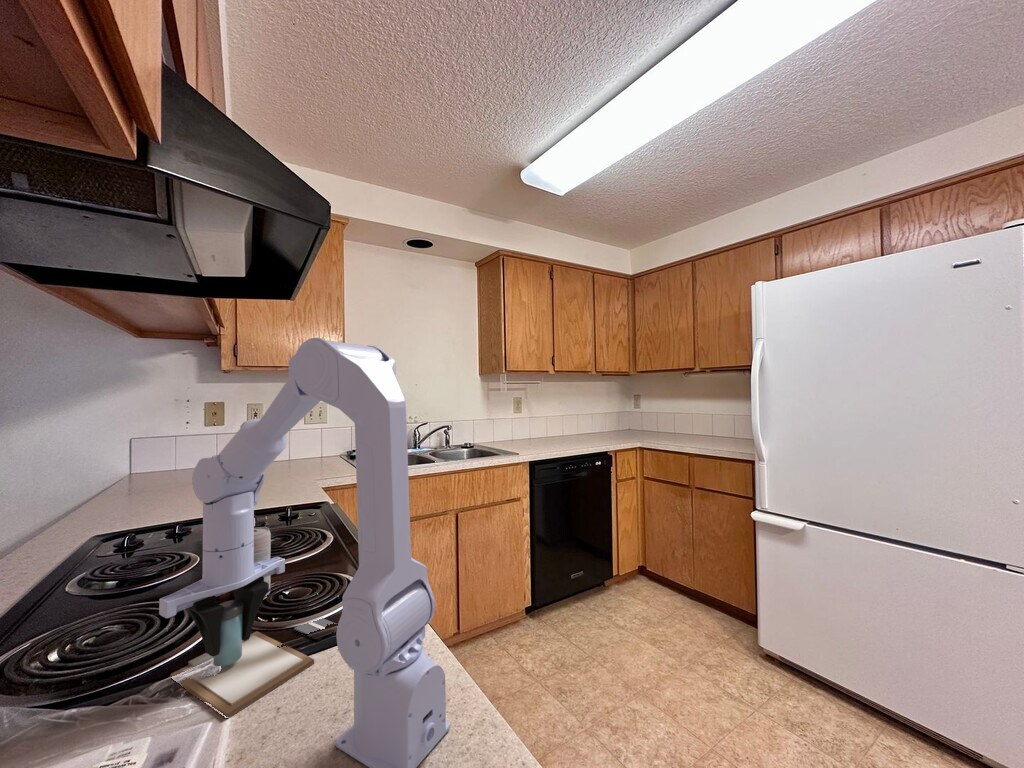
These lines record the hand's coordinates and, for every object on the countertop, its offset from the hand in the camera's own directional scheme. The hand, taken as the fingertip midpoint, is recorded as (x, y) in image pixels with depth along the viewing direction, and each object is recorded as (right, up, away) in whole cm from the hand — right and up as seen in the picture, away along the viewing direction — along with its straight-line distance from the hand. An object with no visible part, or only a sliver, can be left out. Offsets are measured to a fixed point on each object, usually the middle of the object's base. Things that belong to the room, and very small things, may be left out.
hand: (228, 645), depth 55 cm
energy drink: (-9, -4, +20) cm, 22 cm away
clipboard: (+2, -3, 0) cm, 4 cm away
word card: (+8, -4, +9) cm, 13 cm away
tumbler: (0, -2, 0) cm, 2 cm away
